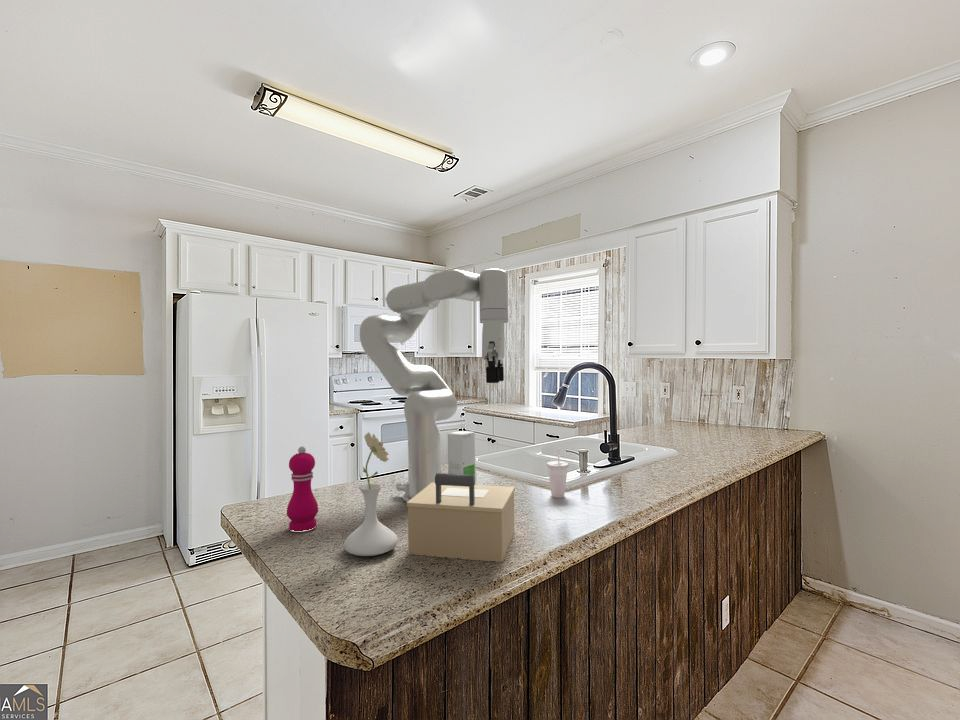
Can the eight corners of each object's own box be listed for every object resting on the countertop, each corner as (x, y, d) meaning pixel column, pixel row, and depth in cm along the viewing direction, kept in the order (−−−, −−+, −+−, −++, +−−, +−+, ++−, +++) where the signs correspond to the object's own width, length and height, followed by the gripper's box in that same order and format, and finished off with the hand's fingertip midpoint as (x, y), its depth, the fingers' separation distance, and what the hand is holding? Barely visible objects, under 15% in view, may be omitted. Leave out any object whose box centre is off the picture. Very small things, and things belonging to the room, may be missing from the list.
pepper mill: (288, 536, 110) (287, 450, 110) (285, 526, 116) (284, 445, 116) (320, 530, 113) (319, 447, 113) (316, 521, 119) (315, 442, 119)
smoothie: (573, 495, 139) (572, 448, 139) (561, 500, 135) (560, 451, 135) (555, 491, 144) (554, 445, 144) (542, 496, 139) (542, 449, 139)
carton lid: (406, 506, 98) (406, 473, 98) (431, 485, 114) (431, 457, 114) (502, 512, 94) (502, 478, 94) (514, 490, 110) (514, 460, 110)
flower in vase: (401, 557, 97) (400, 436, 97) (343, 565, 94) (342, 440, 94) (394, 535, 110) (393, 428, 110) (343, 540, 106) (342, 430, 106)
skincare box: (462, 481, 157) (461, 434, 157) (446, 478, 161) (446, 433, 161) (476, 475, 164) (475, 431, 164) (460, 473, 168) (460, 429, 168)
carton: (408, 554, 99) (407, 506, 99) (433, 527, 114) (432, 486, 114) (502, 562, 94) (501, 512, 94) (514, 533, 110) (514, 490, 110)
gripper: (485, 320, 133) (486, 380, 133) (473, 314, 116) (475, 383, 116) (511, 319, 132) (512, 380, 131) (504, 313, 114) (505, 383, 114)
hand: (495, 382), depth 124 cm, fingers open, 9 cm apart
